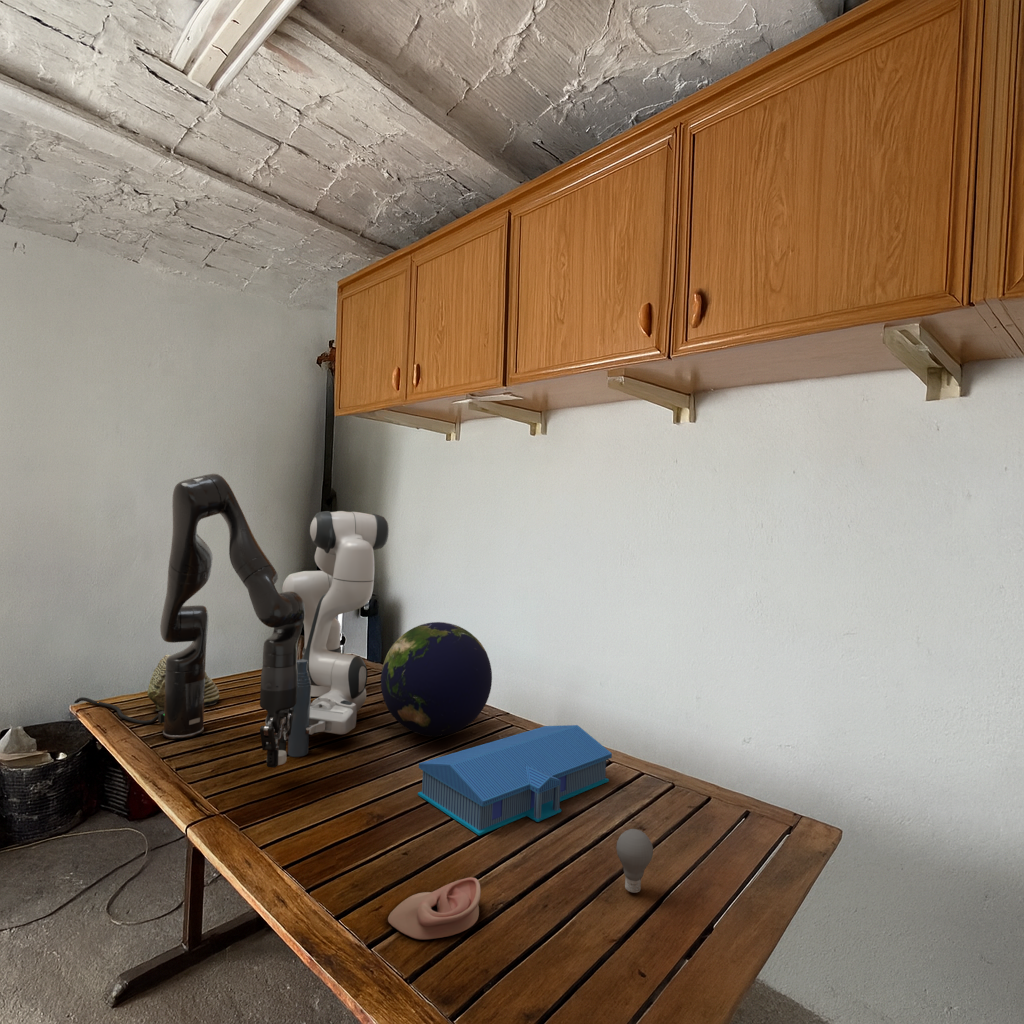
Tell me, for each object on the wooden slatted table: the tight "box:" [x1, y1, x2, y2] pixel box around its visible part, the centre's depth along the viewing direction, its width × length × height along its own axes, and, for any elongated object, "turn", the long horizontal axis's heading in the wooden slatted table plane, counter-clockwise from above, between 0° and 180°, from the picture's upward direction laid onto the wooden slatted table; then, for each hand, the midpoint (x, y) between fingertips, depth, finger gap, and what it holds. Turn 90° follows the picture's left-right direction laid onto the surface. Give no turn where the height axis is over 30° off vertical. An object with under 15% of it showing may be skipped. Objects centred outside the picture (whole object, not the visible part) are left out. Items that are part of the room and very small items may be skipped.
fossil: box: [147, 654, 221, 712], centre depth 185 cm, size 9×18×15 cm, turn 132°
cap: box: [278, 750, 288, 766], centre depth 138 cm, size 4×4×2 cm
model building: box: [417, 724, 613, 837], centre depth 140 cm, size 39×24×10 cm, turn 132°
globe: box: [380, 621, 493, 737], centre depth 172 cm, size 30×30×30 cm
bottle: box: [287, 658, 312, 758], centre depth 155 cm, size 5×5×23 cm
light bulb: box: [615, 828, 654, 894], centre depth 106 cm, size 6×6×10 cm
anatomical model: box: [387, 877, 482, 940], centre depth 97 cm, size 13×4×12 cm
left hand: (276, 762), depth 138 cm, fingers closed on cap, 3 cm apart
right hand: (297, 729), depth 155 cm, fingers closed on bottle, 5 cm apart
